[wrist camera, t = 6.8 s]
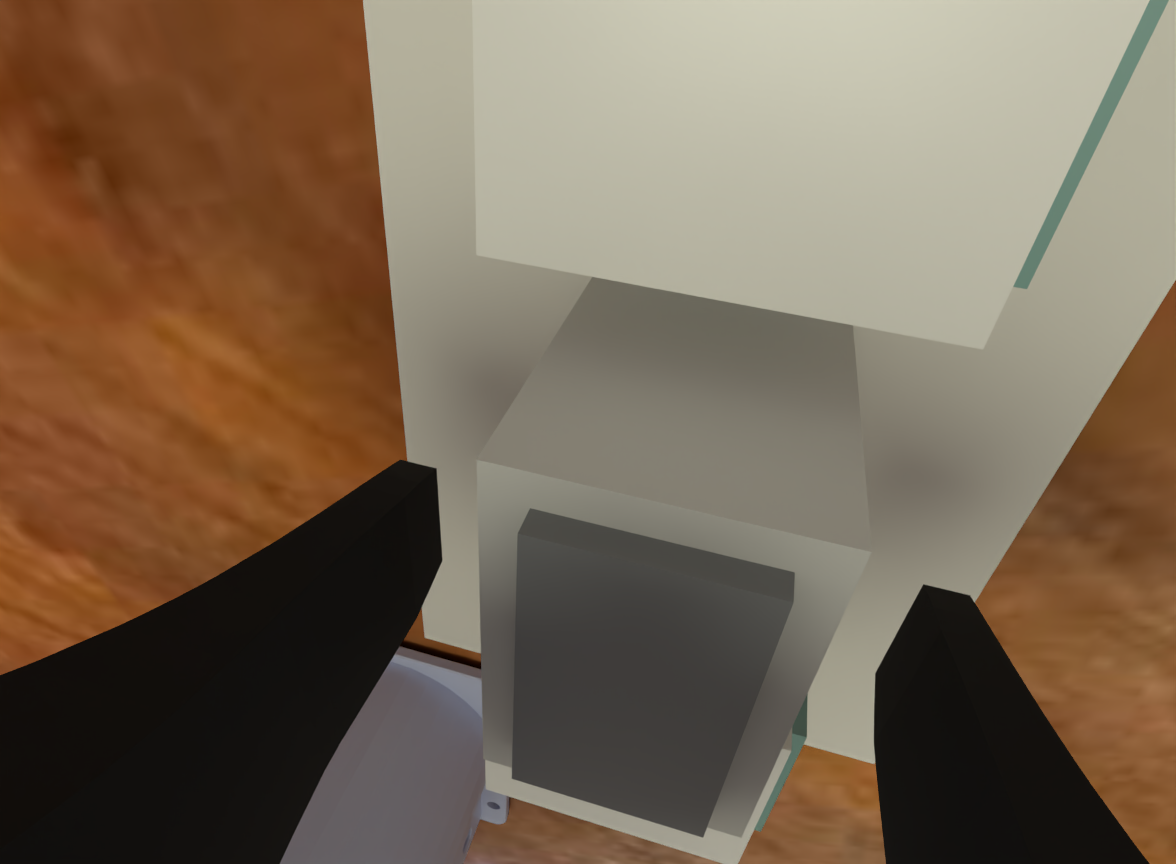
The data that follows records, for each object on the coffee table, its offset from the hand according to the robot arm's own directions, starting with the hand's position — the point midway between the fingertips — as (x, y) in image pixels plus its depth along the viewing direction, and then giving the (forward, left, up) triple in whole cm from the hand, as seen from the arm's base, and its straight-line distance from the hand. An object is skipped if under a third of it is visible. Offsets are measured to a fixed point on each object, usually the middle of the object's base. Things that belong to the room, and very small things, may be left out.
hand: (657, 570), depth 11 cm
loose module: (0, 0, -4) cm, 4 cm away
